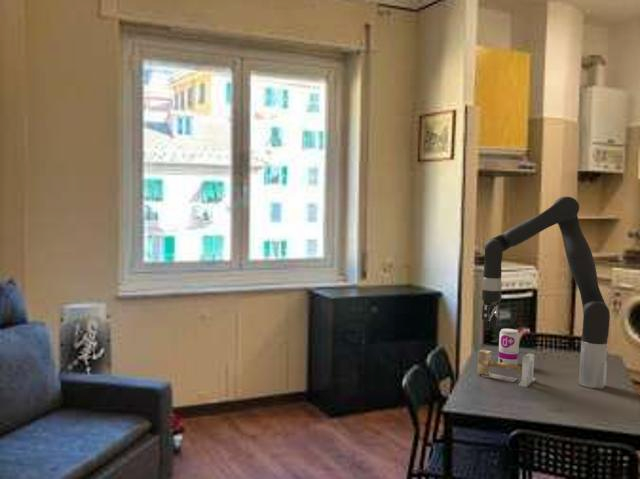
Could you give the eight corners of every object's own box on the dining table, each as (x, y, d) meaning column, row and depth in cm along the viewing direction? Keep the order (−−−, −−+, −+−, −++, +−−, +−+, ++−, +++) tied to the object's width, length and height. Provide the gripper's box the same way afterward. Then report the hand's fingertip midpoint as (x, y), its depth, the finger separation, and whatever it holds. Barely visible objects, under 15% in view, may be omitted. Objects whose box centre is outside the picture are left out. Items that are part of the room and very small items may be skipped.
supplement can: (513, 367, 273) (515, 333, 272) (495, 364, 278) (497, 330, 277) (520, 364, 279) (522, 330, 278) (502, 360, 284) (504, 327, 283)
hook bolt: (522, 378, 253) (524, 356, 253) (519, 381, 250) (521, 358, 249) (480, 371, 263) (481, 349, 262) (477, 373, 260) (478, 351, 259)
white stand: (535, 380, 255) (536, 353, 254) (526, 387, 245) (528, 358, 244) (488, 371, 265) (489, 345, 264) (478, 378, 255) (479, 350, 254)
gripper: (495, 291, 250) (493, 332, 251) (506, 287, 262) (504, 327, 263) (476, 289, 254) (475, 330, 255) (488, 286, 266) (487, 324, 267)
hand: (490, 328), depth 259 cm, fingers open, 8 cm apart
